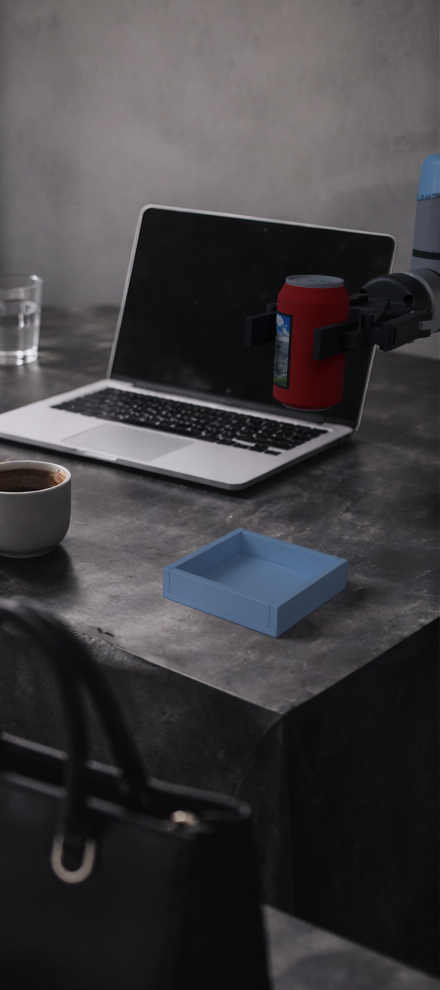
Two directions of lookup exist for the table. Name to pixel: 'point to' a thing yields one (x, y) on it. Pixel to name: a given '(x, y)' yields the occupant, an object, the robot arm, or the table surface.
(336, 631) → the table surface
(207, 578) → the tray
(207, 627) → the table surface
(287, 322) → the beverage can
